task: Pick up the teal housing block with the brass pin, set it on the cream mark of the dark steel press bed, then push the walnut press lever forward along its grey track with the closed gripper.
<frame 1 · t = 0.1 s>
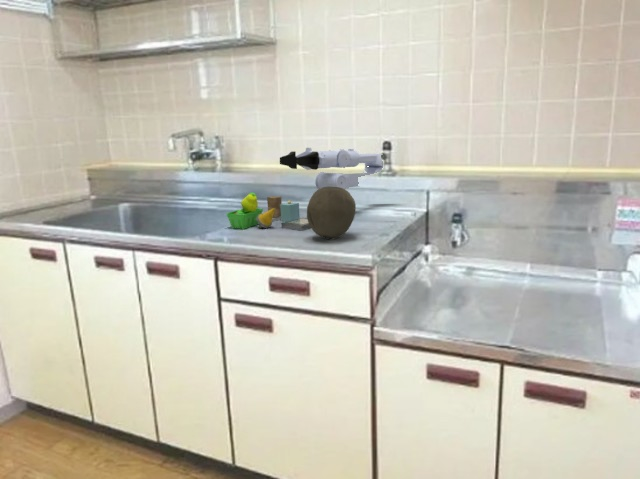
hand: (288, 161, 167), 22 cm above the counter, fingers open, 7 cm apart
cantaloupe: (332, 238, 157), on the counter
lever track: (273, 219, 188), on the counter
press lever: (274, 206, 188), point 4 cm above the counter, slide at 0.0 cm
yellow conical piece: (267, 228, 176), on the counter
fruit basket: (247, 226, 180), on the counter
housing: (290, 220, 185), on the counter
press bed: (302, 226, 175), on the counter
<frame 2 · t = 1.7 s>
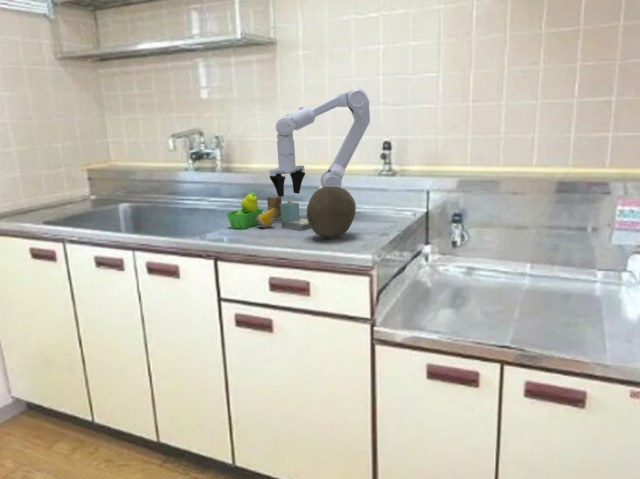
hand: (288, 194, 183), 9 cm above the counter, fingers open, 7 cm apart
nothing on the counter moved.
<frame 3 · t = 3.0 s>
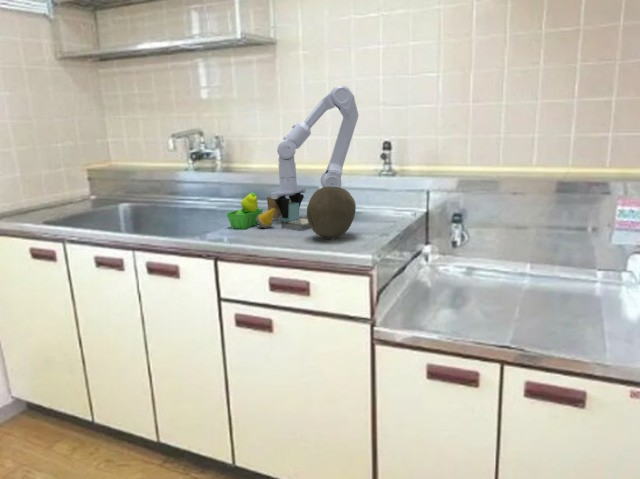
hand: (290, 216, 184), 1 cm above the counter, fingers closed on housing, 4 cm apart
housing: (290, 220, 185), on the counter, touching gripper
everything else where it was.
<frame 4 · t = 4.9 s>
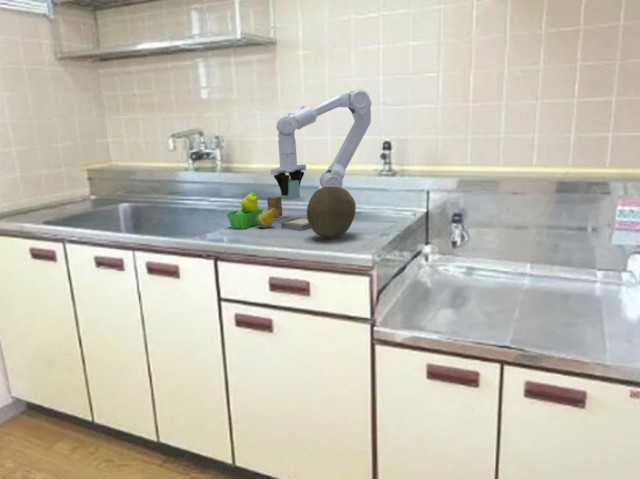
hand: (290, 194, 181), 9 cm above the counter, fingers closed on housing, 4 cm apart
housing: (290, 198, 182), point 8 cm above the counter, touching gripper
everything else where it was.
when the fingers open (4 cm above the counter, at t = 7.0 s): housing stays where it is, resting on press bed.
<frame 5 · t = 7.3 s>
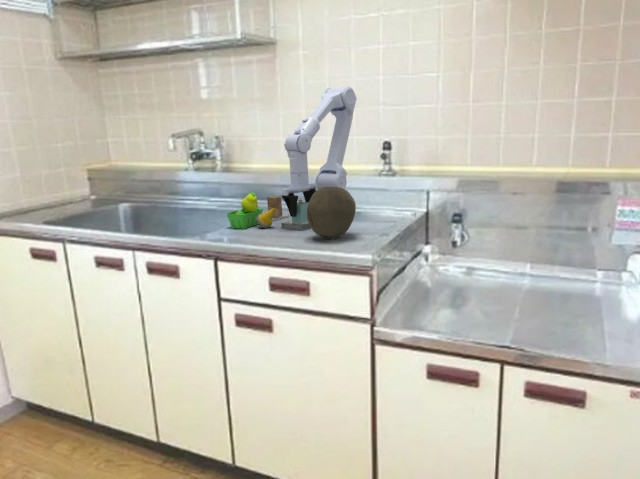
hand: (301, 214, 174), 4 cm above the counter, fingers open, 7 cm apart
housing: (301, 221, 175), point 2 cm above the counter, touching press bed
everything else where it was.
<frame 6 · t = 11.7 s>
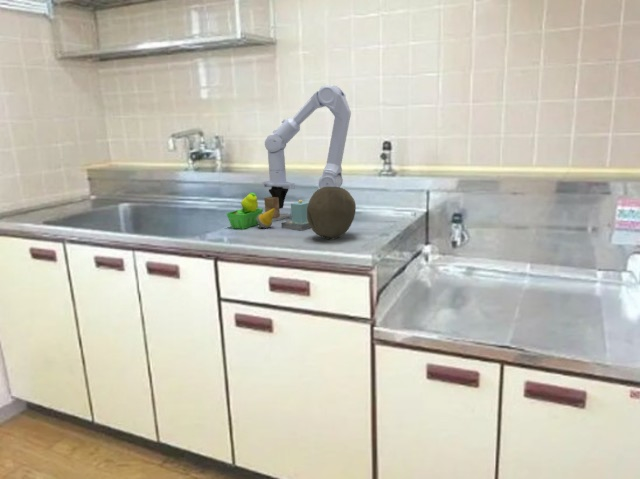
hand: (279, 208, 190), 3 cm above the counter, fingers closed, pressing on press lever
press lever: (272, 207, 187), point 4 cm above the counter, slide at 1.3 cm, touching gripper
everything else where it was.
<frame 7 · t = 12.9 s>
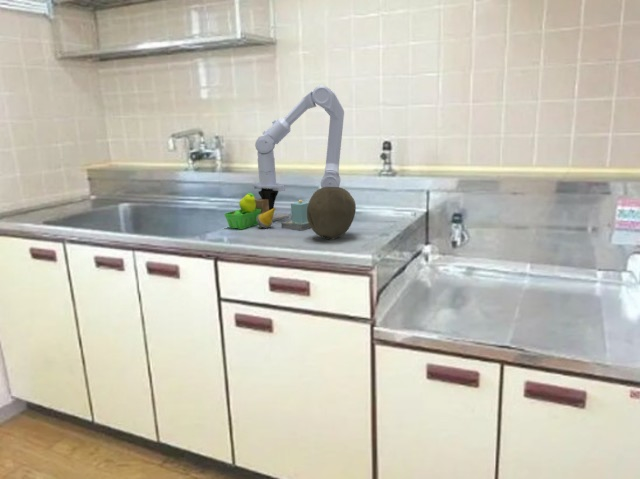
hand: (269, 210, 186), 3 cm above the counter, fingers closed, pressing on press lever
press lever: (261, 209, 184), point 4 cm above the counter, slide at 6.1 cm, touching gripper
everything else where it was.
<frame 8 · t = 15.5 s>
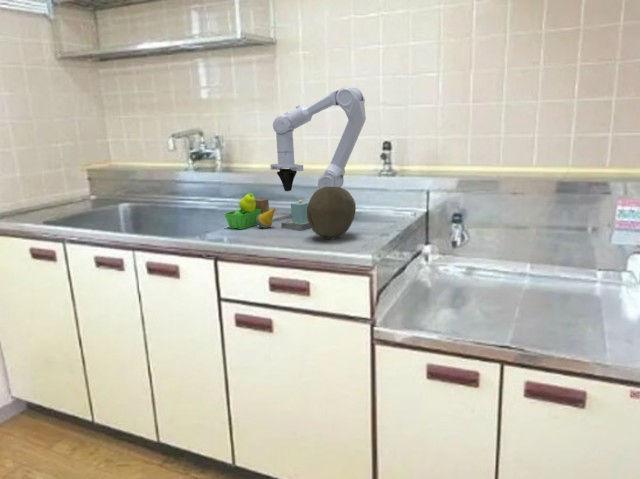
hand: (288, 190, 189), 9 cm above the counter, fingers closed
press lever: (261, 209, 184), point 4 cm above the counter, slide at 6.0 cm
everything else where it was.
at the end: housing 0.2 cm off-centre on the press bed, point 1.6 cm above the press bed's base; housing tilted 0°; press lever slide at 6.0 cm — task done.
